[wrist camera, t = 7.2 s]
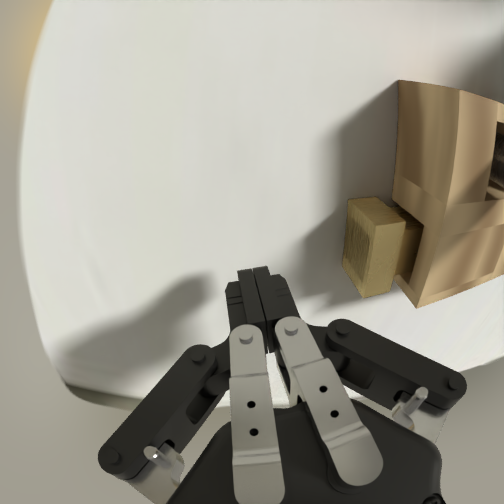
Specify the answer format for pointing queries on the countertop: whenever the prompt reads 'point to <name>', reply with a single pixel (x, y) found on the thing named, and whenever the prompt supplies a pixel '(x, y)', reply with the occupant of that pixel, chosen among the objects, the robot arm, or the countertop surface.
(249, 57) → the countertop surface
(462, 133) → the socket block
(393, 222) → the block
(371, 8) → the countertop surface
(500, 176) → the cylinder
